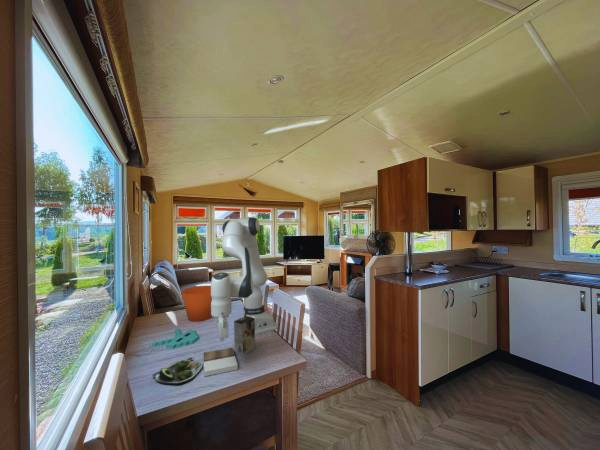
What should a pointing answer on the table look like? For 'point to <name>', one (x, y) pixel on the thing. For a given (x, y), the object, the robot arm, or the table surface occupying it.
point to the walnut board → (218, 354)
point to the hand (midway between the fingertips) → (221, 340)
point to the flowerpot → (197, 303)
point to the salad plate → (177, 372)
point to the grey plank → (220, 366)
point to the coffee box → (244, 335)
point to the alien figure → (179, 339)
